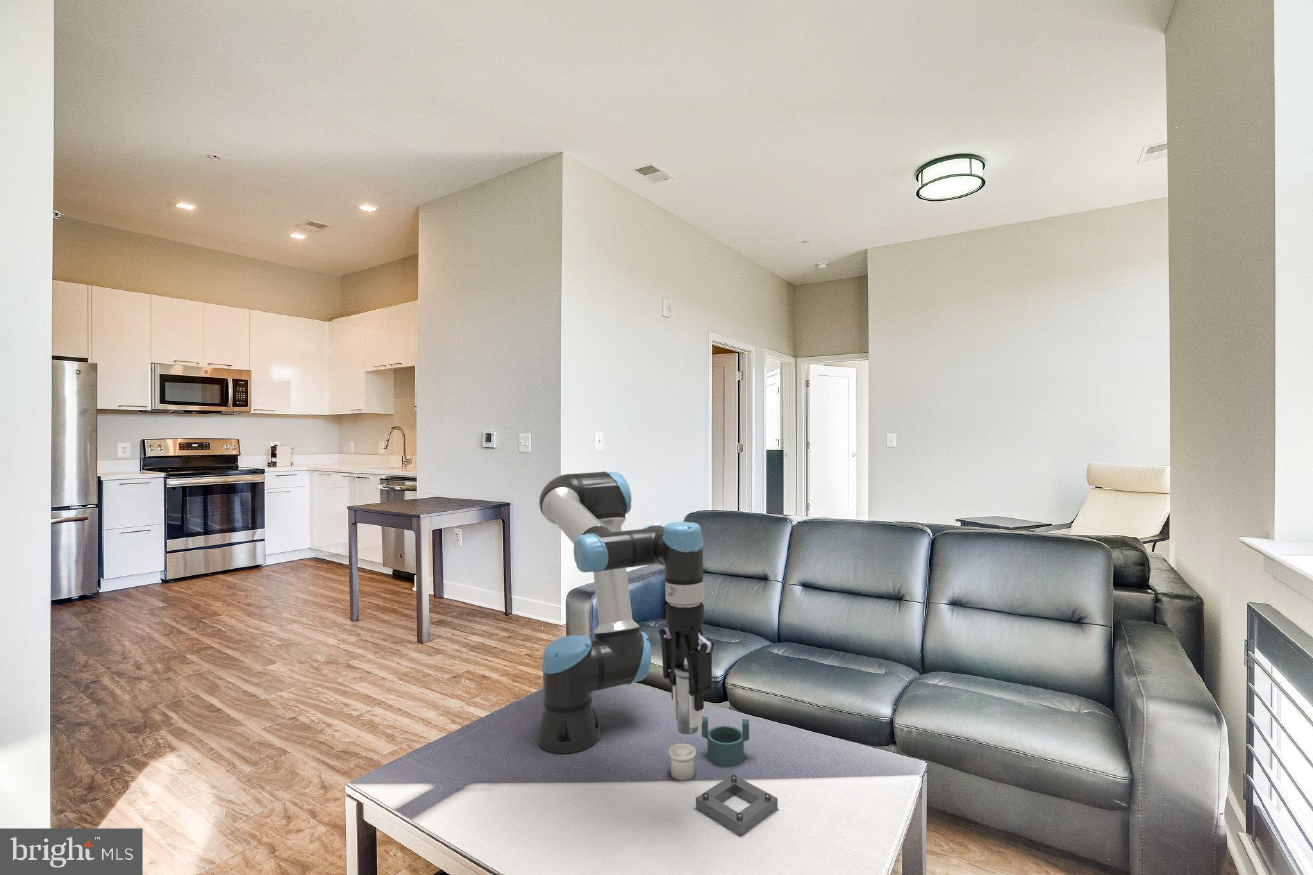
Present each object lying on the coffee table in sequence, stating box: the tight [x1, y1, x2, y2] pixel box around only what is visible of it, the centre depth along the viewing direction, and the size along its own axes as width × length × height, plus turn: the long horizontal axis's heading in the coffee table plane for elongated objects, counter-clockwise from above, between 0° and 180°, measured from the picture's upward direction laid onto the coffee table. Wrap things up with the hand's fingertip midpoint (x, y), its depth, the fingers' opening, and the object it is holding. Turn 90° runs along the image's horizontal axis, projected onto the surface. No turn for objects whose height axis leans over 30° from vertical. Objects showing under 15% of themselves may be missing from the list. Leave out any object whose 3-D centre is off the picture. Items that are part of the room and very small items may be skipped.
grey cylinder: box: [674, 663, 699, 735], centre depth 120 cm, size 5×5×12 cm
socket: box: [695, 774, 779, 837], centre depth 120 cm, size 11×11×3 cm
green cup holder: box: [701, 715, 750, 768], centre depth 139 cm, size 9×9×9 cm
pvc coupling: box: [668, 743, 697, 781], centre depth 133 cm, size 6×6×5 cm
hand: (687, 721), depth 120 cm, fingers closed on grey cylinder, 4 cm apart
